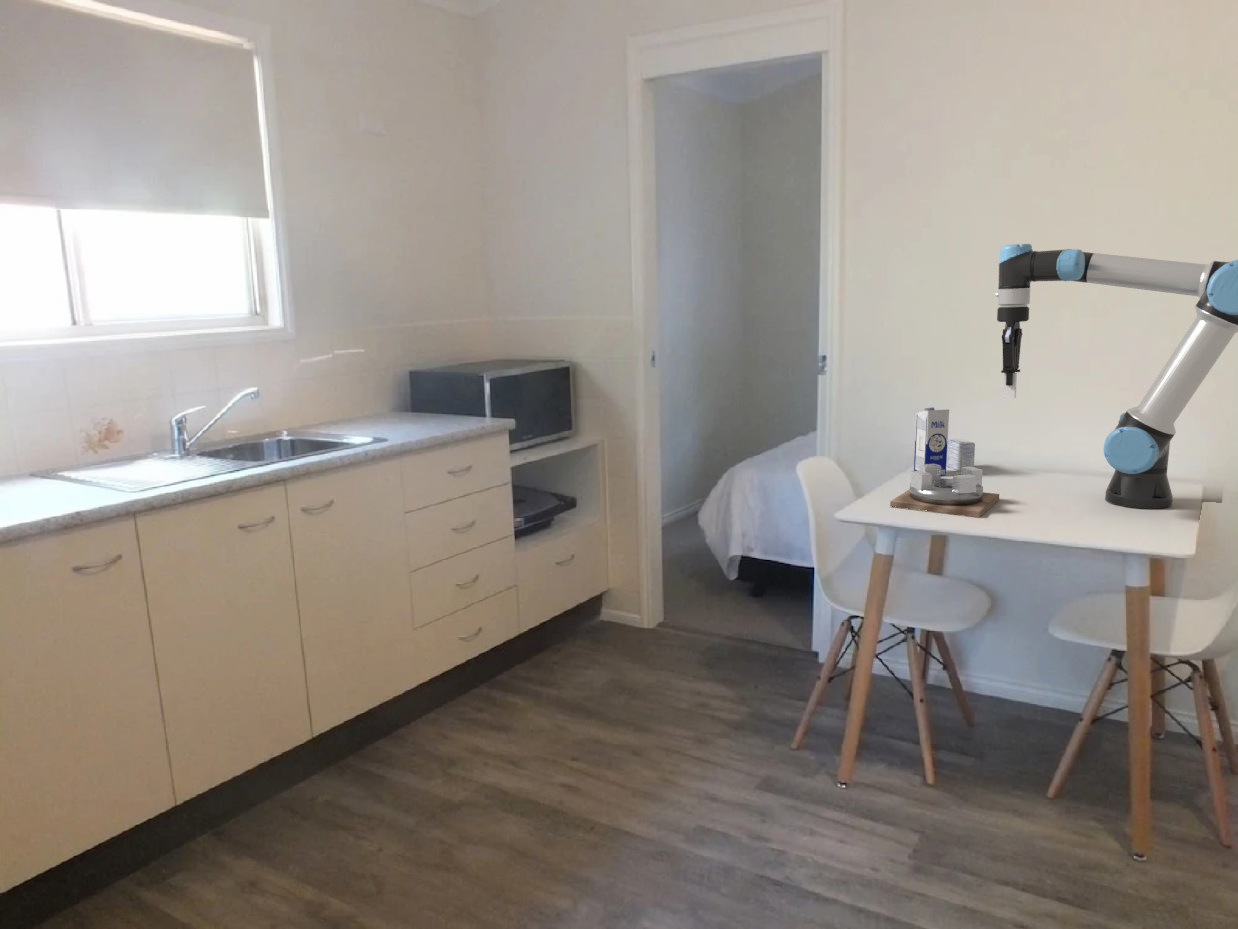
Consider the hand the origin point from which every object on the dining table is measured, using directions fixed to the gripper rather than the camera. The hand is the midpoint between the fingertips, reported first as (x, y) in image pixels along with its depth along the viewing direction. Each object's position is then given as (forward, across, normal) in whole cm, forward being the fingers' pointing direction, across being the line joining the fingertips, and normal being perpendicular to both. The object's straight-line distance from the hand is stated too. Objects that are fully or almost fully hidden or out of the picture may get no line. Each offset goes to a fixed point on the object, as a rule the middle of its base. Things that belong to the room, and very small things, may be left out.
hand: (1009, 397), depth 242 cm
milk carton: (+26, -21, -26) cm, 43 cm away
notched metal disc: (+25, +14, -12) cm, 31 cm away
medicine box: (+27, -33, -20) cm, 47 cm away
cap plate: (+27, +14, -12) cm, 32 cm away
